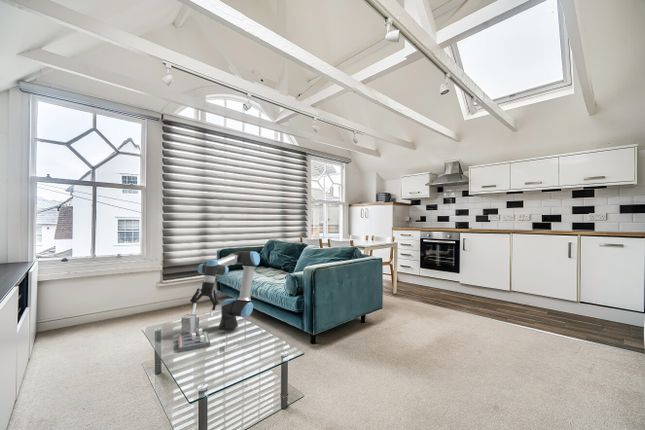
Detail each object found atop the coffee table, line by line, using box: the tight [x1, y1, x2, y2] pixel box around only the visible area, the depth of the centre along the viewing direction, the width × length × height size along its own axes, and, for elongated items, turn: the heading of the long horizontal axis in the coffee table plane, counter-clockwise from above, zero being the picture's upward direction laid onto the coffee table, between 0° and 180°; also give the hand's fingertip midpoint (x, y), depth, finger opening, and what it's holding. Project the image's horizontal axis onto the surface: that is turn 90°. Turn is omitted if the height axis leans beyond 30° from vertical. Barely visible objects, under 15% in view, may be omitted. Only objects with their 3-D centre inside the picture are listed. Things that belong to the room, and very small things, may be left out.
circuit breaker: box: [180, 313, 200, 336], centre depth 220 cm, size 8×14×15 cm, turn 174°
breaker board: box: [177, 331, 211, 353], centre depth 203 cm, size 20×22×3 cm
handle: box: [198, 328, 203, 335], centre depth 211 cm, size 2×4×3 cm, turn 28°
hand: (201, 314), depth 187 cm, fingers open, 13 cm apart
